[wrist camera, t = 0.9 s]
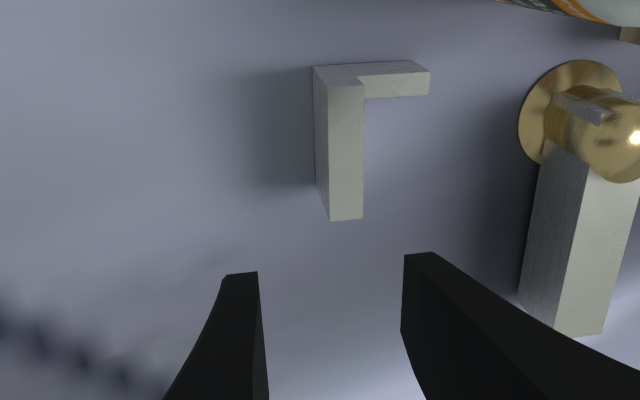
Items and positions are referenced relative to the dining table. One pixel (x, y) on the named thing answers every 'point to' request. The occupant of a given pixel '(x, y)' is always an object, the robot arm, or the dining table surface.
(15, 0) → the dining table surface
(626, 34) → the oak jamb corner
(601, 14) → the pill bottle
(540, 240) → the bar
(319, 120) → the bracket
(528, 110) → the pivot plate
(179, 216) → the dining table surface
